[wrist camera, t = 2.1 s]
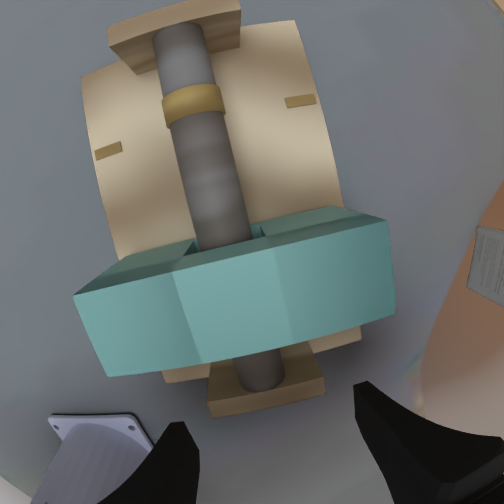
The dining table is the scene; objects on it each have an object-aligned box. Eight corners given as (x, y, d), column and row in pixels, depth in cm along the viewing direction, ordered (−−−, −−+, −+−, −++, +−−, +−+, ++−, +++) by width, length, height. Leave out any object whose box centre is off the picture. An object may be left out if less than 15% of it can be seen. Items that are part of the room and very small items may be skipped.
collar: (343, 268, 14) (395, 313, 9) (146, 315, 14) (108, 377, 9) (332, 205, 13) (387, 220, 8) (126, 255, 13) (72, 295, 8)
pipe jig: (356, 332, 16) (389, 377, 12) (168, 375, 16) (152, 429, 12) (291, 26, 13) (310, -21, 8) (87, 81, 13) (42, 54, 8)
